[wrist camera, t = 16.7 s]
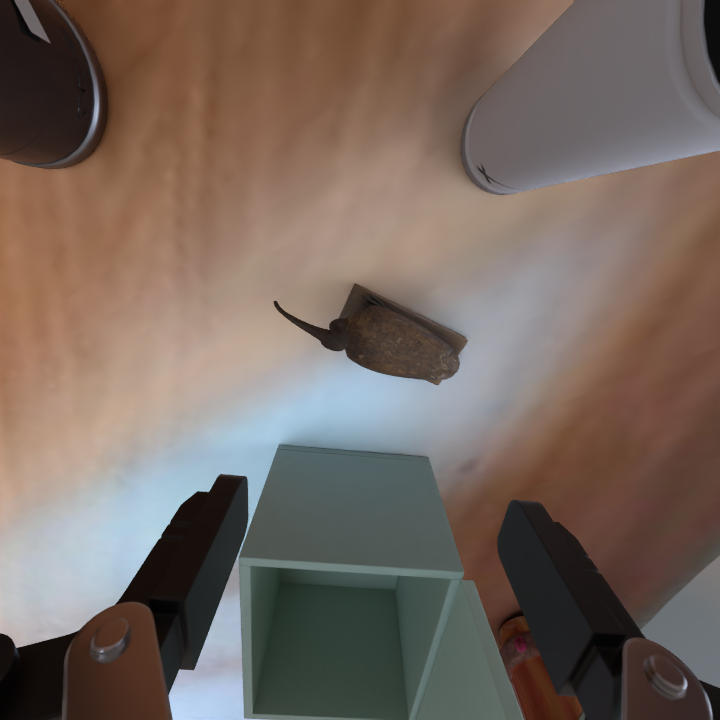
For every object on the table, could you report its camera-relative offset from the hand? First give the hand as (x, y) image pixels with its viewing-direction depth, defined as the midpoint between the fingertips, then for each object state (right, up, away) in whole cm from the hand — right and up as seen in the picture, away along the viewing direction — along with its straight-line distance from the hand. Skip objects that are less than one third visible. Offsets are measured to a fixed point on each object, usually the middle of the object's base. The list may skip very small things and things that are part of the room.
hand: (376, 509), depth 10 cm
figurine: (+1, +7, +16) cm, 18 cm away
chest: (-2, -12, +24) cm, 27 cm away
